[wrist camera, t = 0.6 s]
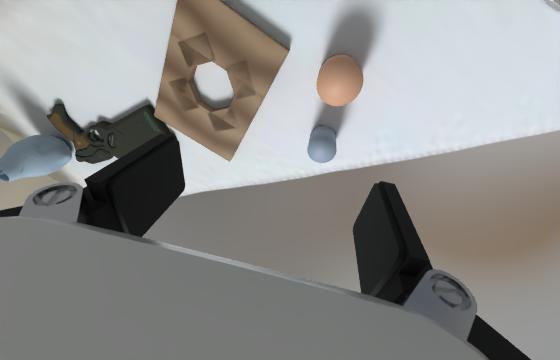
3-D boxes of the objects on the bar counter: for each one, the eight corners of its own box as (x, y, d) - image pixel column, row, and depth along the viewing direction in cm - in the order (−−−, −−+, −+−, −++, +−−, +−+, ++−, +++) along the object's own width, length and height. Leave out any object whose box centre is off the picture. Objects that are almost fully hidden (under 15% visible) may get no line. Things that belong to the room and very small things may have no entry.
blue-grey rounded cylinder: (320, 120, 36) (318, 131, 32) (341, 135, 37) (342, 147, 33) (305, 140, 38) (302, 153, 34) (325, 153, 39) (324, 167, 35)
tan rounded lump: (335, 44, 30) (336, 47, 26) (368, 69, 31) (373, 75, 27) (310, 82, 33) (308, 90, 29) (340, 104, 34) (342, 114, 30)
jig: (189, -23, 29) (182, -26, 27) (289, 50, 31) (287, 51, 30) (159, 113, 41) (153, 115, 40) (232, 157, 44) (229, 161, 42)
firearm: (131, 72, 36) (178, 151, 43) (141, 70, 38) (184, 146, 45) (33, 112, 45) (86, 172, 52) (45, 109, 47) (94, 168, 54)
